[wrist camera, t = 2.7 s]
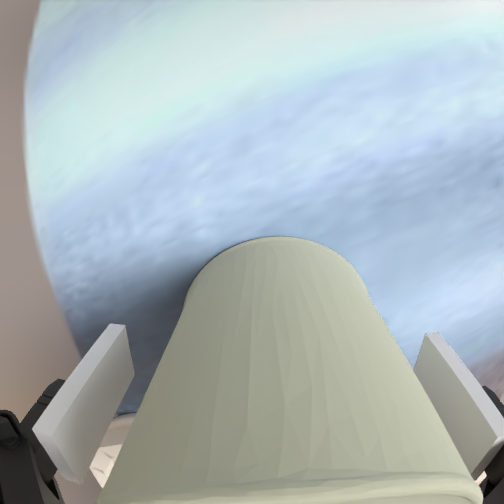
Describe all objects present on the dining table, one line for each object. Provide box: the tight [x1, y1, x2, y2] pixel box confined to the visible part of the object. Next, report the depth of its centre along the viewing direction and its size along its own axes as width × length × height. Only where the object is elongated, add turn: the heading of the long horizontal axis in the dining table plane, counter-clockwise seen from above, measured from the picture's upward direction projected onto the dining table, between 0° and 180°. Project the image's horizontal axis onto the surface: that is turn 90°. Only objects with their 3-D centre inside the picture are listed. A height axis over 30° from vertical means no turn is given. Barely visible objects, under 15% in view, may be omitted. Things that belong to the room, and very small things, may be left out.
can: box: [96, 236, 483, 504], centre depth 10 cm, size 9×9×12 cm
